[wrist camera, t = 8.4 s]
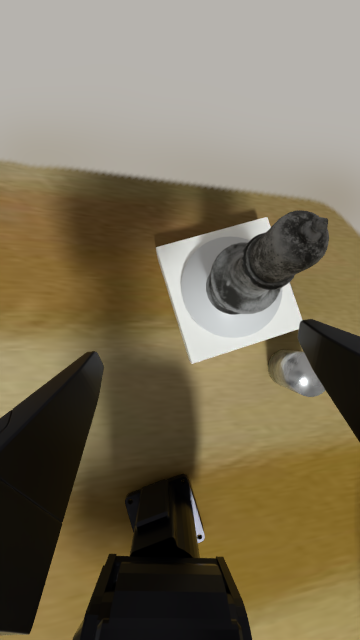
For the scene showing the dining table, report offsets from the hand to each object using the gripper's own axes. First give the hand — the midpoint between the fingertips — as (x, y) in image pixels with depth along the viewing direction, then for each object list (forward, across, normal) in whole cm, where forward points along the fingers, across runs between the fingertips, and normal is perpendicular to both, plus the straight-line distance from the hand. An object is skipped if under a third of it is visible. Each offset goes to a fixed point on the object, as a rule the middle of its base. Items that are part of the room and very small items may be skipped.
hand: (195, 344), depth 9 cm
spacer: (+10, -9, +13) cm, 18 cm away
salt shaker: (+12, -4, +3) cm, 13 cm away
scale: (+14, -4, +5) cm, 15 cm away
